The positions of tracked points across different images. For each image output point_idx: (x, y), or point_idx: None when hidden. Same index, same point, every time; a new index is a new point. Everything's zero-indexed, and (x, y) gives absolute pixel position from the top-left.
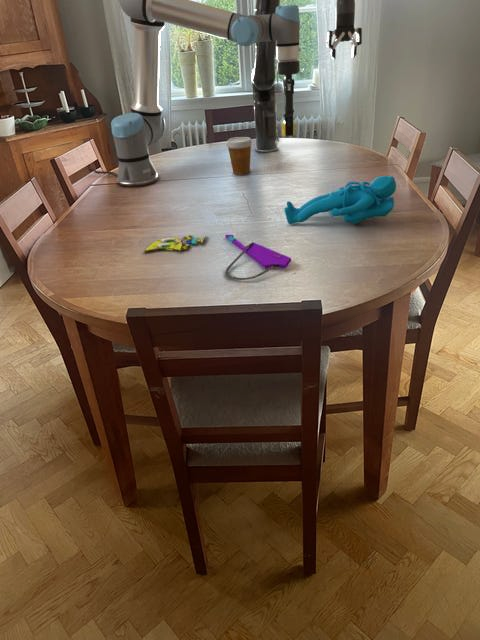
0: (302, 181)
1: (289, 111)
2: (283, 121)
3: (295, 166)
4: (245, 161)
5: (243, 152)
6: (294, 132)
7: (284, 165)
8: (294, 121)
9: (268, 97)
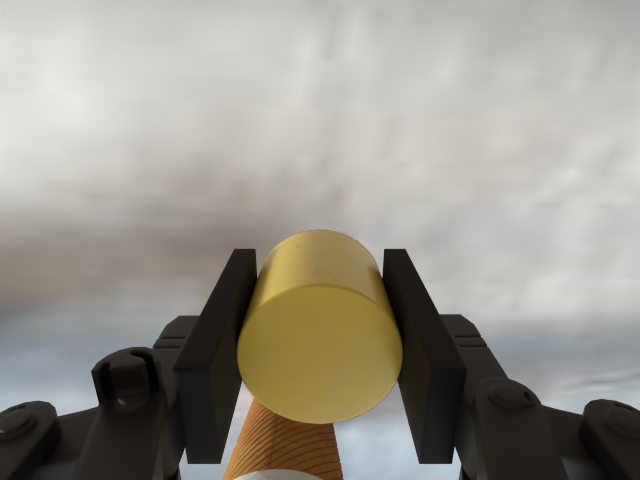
0: (517, 130)
1: (170, 423)
2: (285, 406)
3: (221, 154)
4: (329, 429)
5: (339, 478)
6: (341, 240)
7: (192, 214)
8: (319, 287)
9: None
